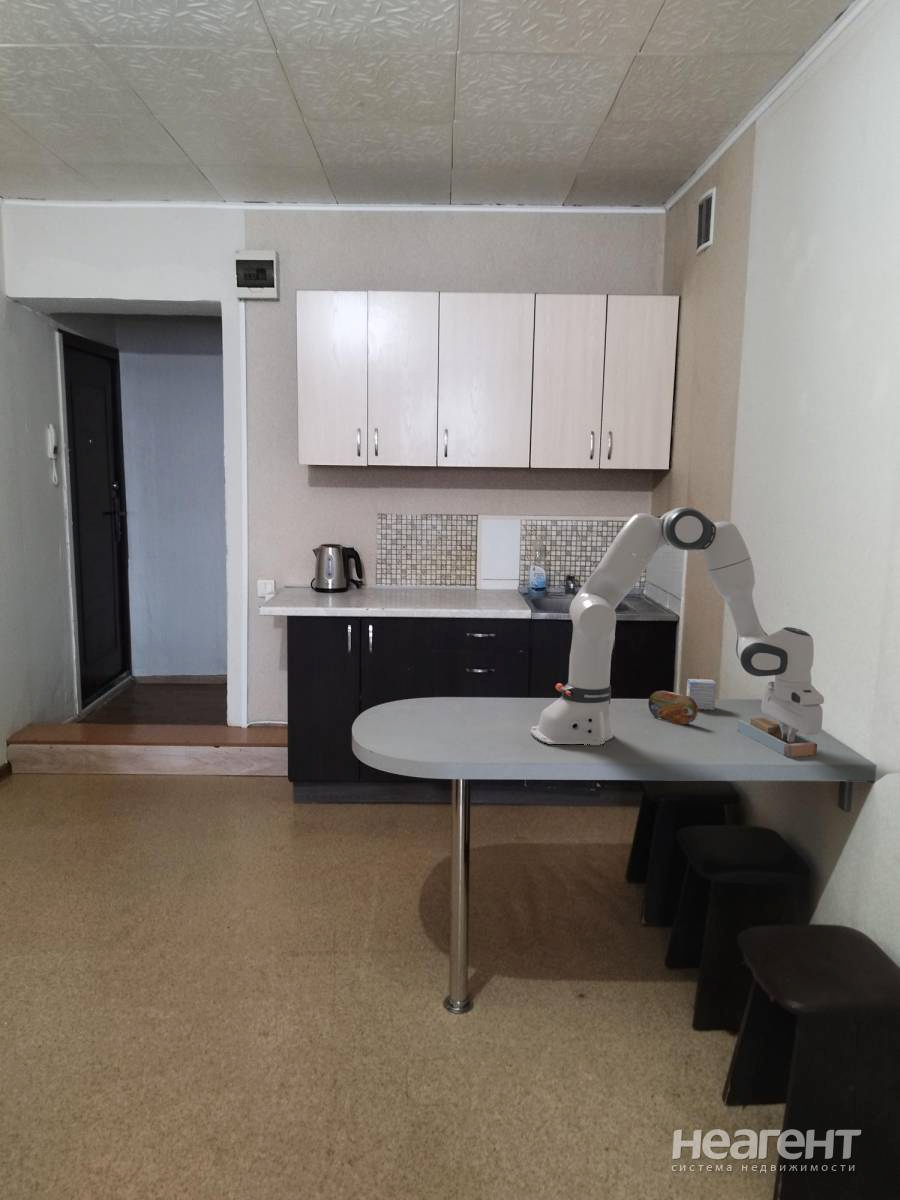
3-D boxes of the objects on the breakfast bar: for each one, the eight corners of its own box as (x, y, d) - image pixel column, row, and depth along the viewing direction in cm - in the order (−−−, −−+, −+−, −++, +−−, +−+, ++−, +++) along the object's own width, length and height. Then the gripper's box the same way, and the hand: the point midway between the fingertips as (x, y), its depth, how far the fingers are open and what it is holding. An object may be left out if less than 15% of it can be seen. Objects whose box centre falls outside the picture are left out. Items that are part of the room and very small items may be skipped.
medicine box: (711, 706, 252) (713, 679, 251) (714, 710, 248) (716, 683, 246) (685, 705, 253) (687, 678, 252) (688, 709, 249) (689, 682, 247)
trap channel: (787, 757, 208) (788, 746, 207) (737, 730, 229) (738, 720, 229) (816, 754, 210) (817, 743, 210) (764, 728, 231) (765, 718, 231)
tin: (647, 715, 241) (648, 688, 240) (652, 713, 244) (654, 686, 242) (692, 728, 231) (694, 699, 229) (698, 725, 233) (700, 697, 232)
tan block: (766, 743, 219) (767, 727, 218) (749, 734, 227) (750, 718, 226) (782, 742, 220) (784, 726, 219) (765, 733, 228) (766, 717, 227)
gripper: (757, 680, 221) (753, 728, 224) (807, 700, 202) (802, 753, 204) (777, 678, 223) (773, 727, 225) (828, 699, 203) (824, 752, 206)
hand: (787, 740), depth 214 cm, fingers closed
